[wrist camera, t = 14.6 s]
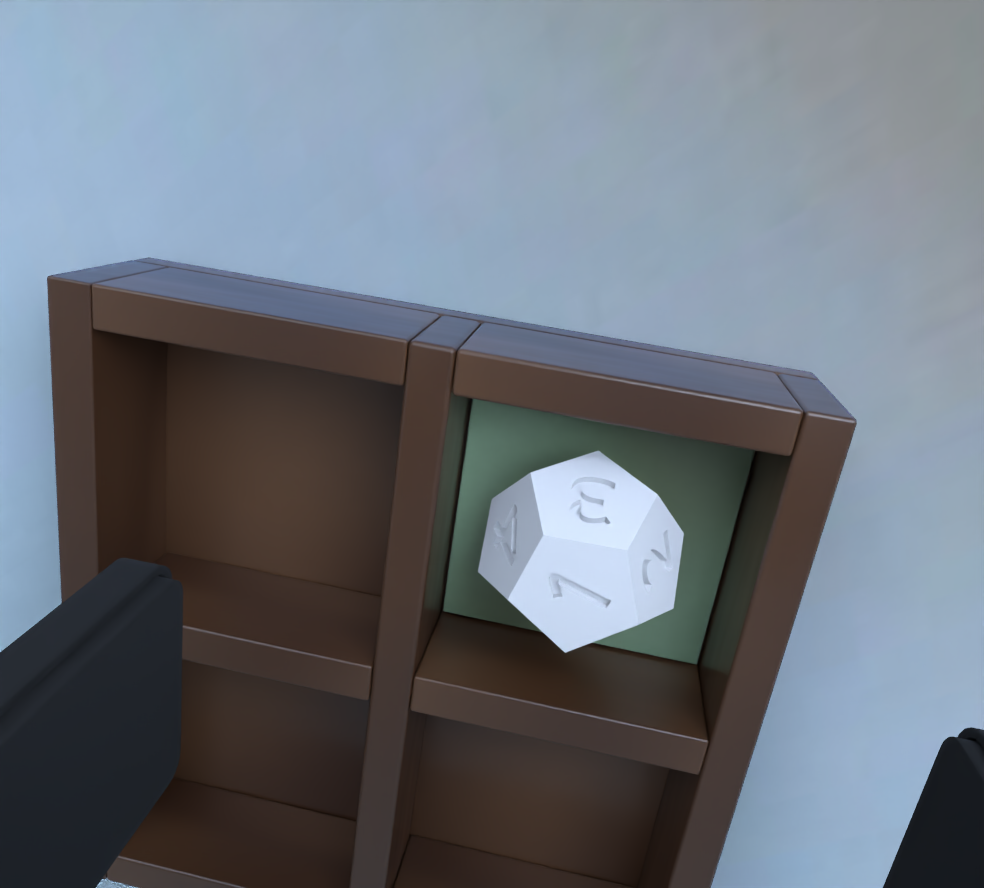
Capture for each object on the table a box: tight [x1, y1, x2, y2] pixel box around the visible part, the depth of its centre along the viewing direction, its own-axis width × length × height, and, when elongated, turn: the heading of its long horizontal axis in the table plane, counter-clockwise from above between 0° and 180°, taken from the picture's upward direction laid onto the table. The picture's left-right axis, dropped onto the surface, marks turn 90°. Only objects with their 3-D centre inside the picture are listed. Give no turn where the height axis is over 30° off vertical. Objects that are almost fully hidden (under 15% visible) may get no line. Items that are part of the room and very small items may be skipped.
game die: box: [478, 451, 684, 653], centre depth 15 cm, size 4×4×3 cm
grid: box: [47, 258, 857, 888], centre depth 17 cm, size 13×13×3 cm
